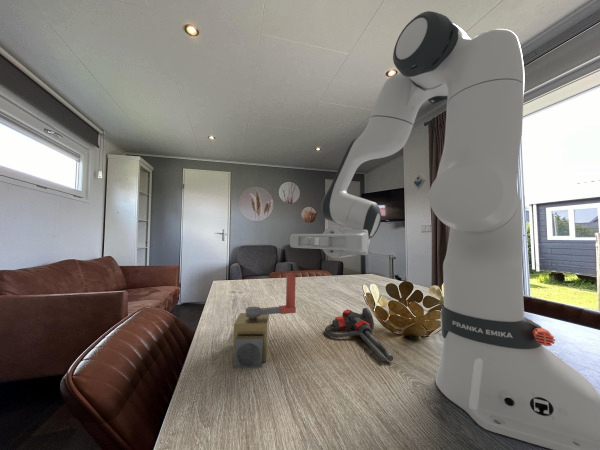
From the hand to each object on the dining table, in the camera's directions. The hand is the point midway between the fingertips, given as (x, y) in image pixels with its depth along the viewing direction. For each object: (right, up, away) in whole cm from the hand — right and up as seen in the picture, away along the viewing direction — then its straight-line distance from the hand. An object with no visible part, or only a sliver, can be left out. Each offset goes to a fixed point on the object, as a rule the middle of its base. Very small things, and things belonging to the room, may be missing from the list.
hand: (309, 241), depth 51 cm
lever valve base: (-13, -26, +1) cm, 29 cm away
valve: (+13, -28, +10) cm, 32 cm away
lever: (-9, -17, +3) cm, 20 cm away
